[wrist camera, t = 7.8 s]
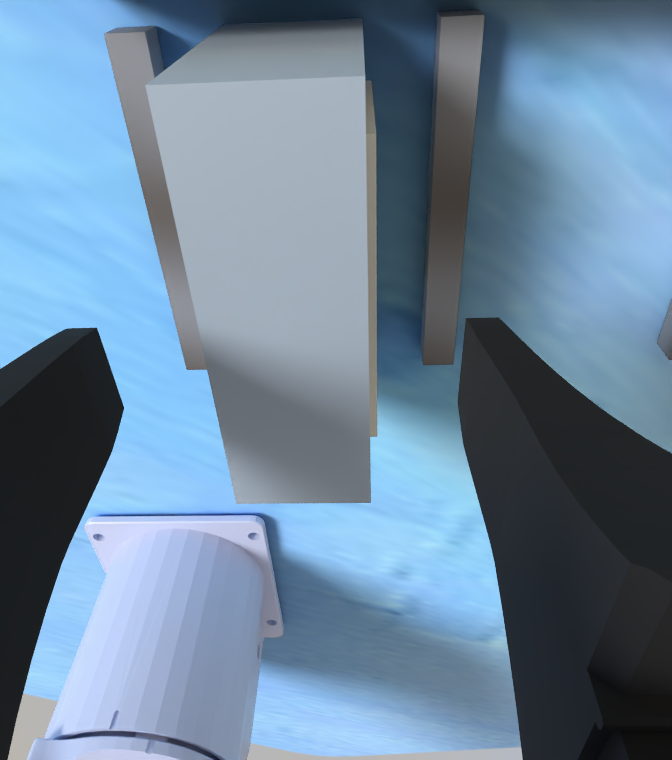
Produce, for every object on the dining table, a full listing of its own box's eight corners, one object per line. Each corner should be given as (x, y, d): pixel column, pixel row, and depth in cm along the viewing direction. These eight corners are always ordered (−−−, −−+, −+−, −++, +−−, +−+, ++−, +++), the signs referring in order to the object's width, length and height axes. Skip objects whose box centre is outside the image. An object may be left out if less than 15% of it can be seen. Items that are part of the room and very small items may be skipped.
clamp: (702, 341, 20) (760, 413, 17) (179, 353, 21) (150, 422, 18) (908, -181, 12) (1079, -213, 9) (58, -127, 13) (-27, -140, 10)
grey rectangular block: (373, 348, 21) (378, 502, 15) (268, 350, 21) (236, 503, 16) (370, 17, 15) (377, 75, 9) (223, 24, 15) (145, 85, 10)
